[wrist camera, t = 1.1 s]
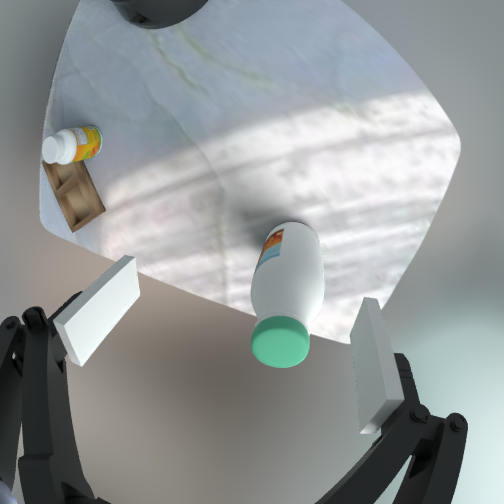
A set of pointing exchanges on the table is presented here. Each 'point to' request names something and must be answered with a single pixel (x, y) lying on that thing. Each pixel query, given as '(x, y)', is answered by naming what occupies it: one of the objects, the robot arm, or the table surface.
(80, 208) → the compartment tray
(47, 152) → the supplement bottle
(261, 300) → the milk bottle
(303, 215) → the table surface
